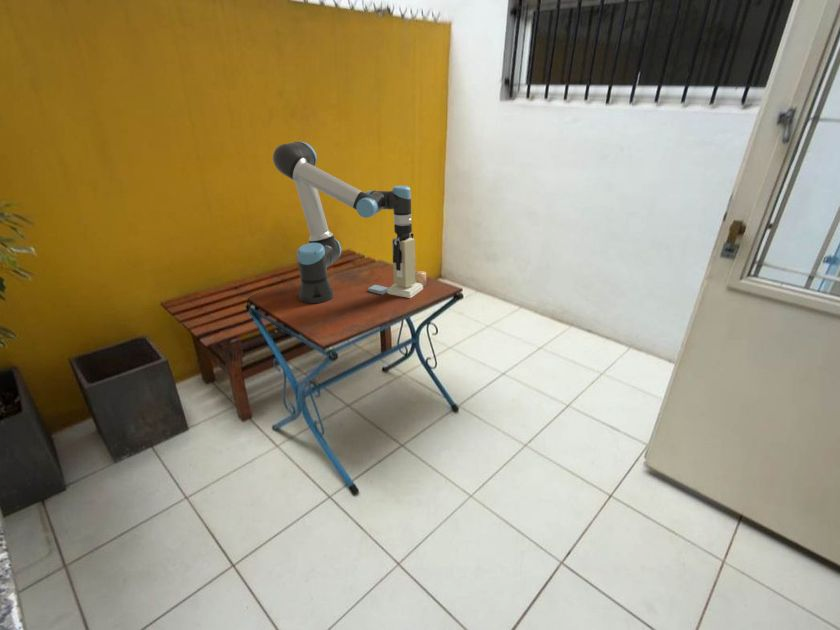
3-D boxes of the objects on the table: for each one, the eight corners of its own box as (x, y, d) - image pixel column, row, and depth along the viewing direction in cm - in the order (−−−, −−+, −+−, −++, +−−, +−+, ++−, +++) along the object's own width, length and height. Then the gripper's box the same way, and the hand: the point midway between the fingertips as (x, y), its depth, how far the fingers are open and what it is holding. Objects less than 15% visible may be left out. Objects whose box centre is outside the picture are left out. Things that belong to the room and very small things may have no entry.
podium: (387, 293, 196) (387, 288, 195) (400, 284, 206) (400, 279, 205) (410, 298, 191) (410, 292, 190) (423, 289, 201) (423, 283, 199)
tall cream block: (417, 283, 197) (416, 238, 188) (406, 287, 192) (404, 242, 183) (404, 279, 202) (402, 235, 192) (393, 283, 197) (391, 238, 188)
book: (368, 292, 200) (368, 288, 199) (375, 288, 204) (375, 284, 203) (382, 295, 196) (381, 291, 195) (388, 291, 200) (388, 287, 199)
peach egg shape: (414, 285, 205) (413, 273, 202) (419, 282, 209) (418, 270, 206) (423, 287, 203) (423, 275, 200) (428, 283, 207) (428, 271, 204)
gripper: (397, 230, 175) (400, 282, 185) (422, 219, 191) (422, 267, 201) (382, 228, 178) (385, 279, 188) (407, 217, 195) (408, 265, 205)
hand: (404, 273), depth 195 cm, fingers closed on tall cream block, 8 cm apart
